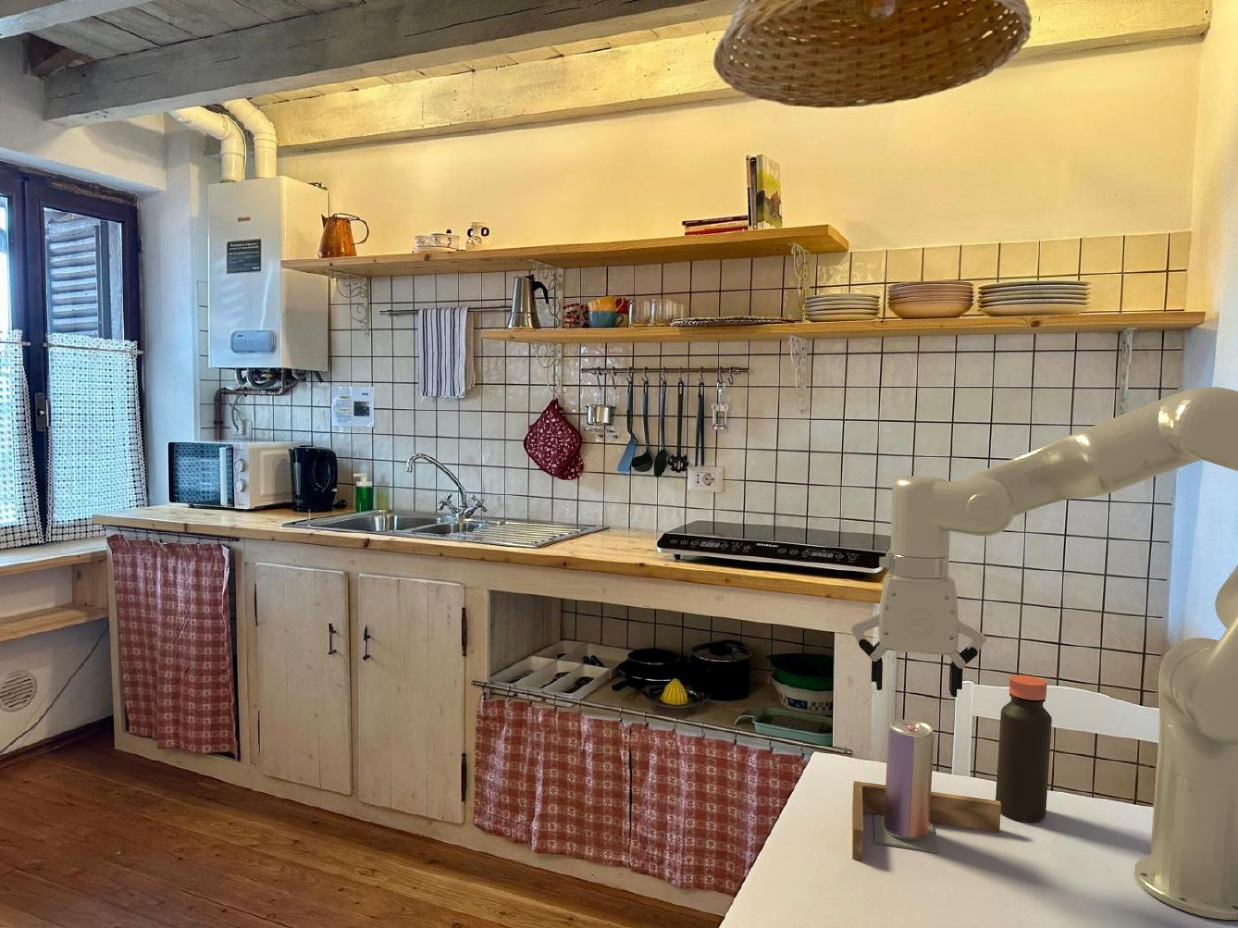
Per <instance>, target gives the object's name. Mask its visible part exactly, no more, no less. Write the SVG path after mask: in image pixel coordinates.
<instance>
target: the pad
mask: <svg viewBox="0 0 1238 928" xmlns="http://www.w3.org/2000/svg"><path fill="white" fill-rule="evenodd" d="M933 825H934V823H933V822H929V833H928V835H927V836H926V837H925V838H924V839H923V840H920V841H905V840H901V839H898V838H895V837H893V836H892V835H890V834H889V833H888V832H887V830H886V828H885V826H884V815H879V814H873V829H874V830H873V831H874V844H876V845H882V846H889V847H895V848H902V849H907V850H912V851H913V850H915V851H919V852H921V851H922V852H927V853H934V854H939V850H938V846H937V845H938V844H937V840H936V835H935V830H934V826H933Z"/></svg>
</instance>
